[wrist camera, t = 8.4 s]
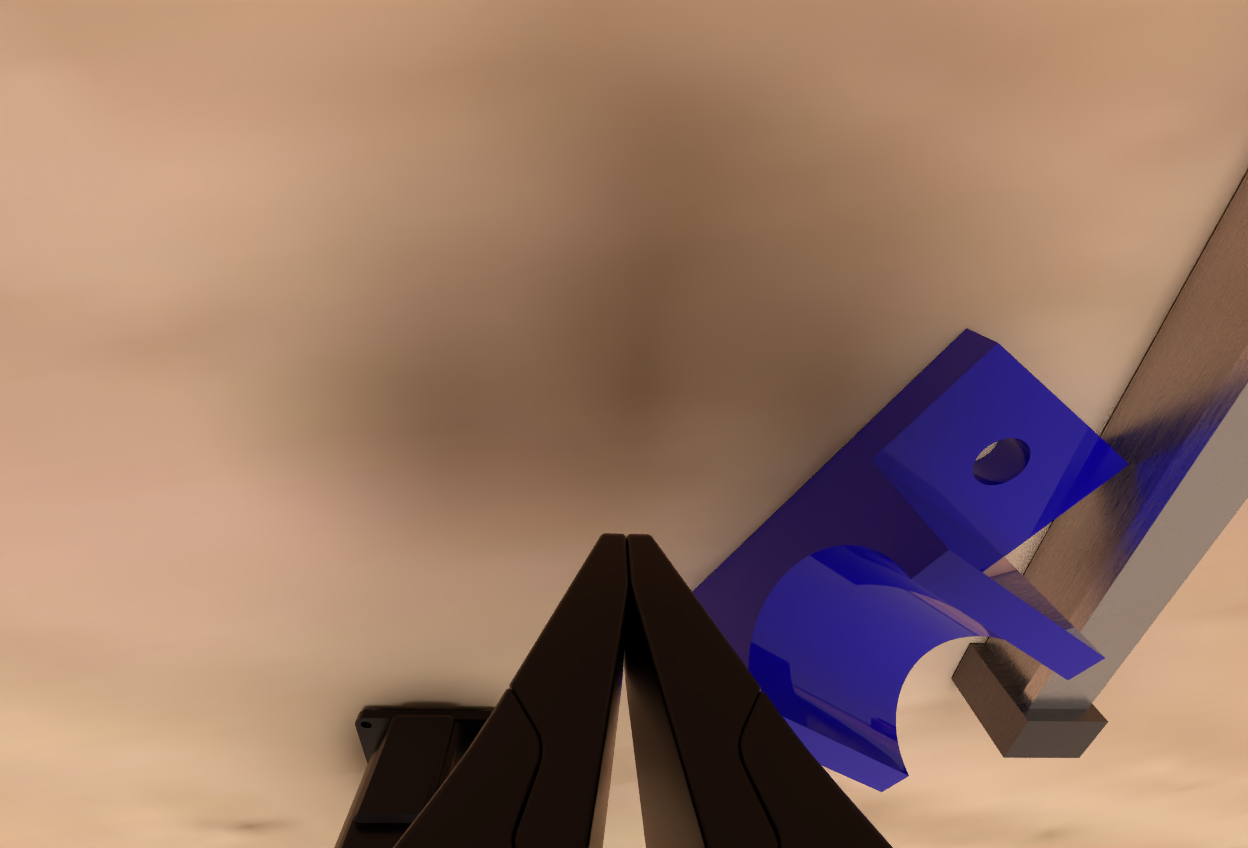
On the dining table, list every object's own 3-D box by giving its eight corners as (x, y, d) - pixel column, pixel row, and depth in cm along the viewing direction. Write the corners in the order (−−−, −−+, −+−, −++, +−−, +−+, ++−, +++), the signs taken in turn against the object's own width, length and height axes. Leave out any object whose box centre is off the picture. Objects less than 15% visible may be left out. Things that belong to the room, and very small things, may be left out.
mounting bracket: (959, 324, 16) (1133, 405, 11) (1083, 437, 18) (1282, 552, 13) (628, 645, 22) (634, 794, 17) (747, 700, 25) (785, 849, 19)
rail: (1017, 679, 24) (1079, 757, 20) (951, 678, 23) (1003, 757, 20) (1505, -97, 11) (1846, -197, 8) (1372, -108, 11) (1667, -214, 8)
